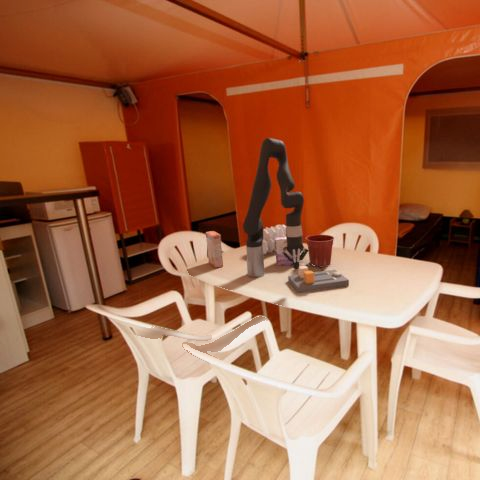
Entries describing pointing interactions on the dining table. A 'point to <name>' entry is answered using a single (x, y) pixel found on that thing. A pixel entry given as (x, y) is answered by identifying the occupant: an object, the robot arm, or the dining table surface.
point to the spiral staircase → (272, 237)
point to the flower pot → (320, 249)
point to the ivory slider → (301, 270)
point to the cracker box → (214, 249)
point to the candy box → (280, 247)
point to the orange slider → (308, 277)
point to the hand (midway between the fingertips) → (296, 268)
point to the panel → (319, 281)
